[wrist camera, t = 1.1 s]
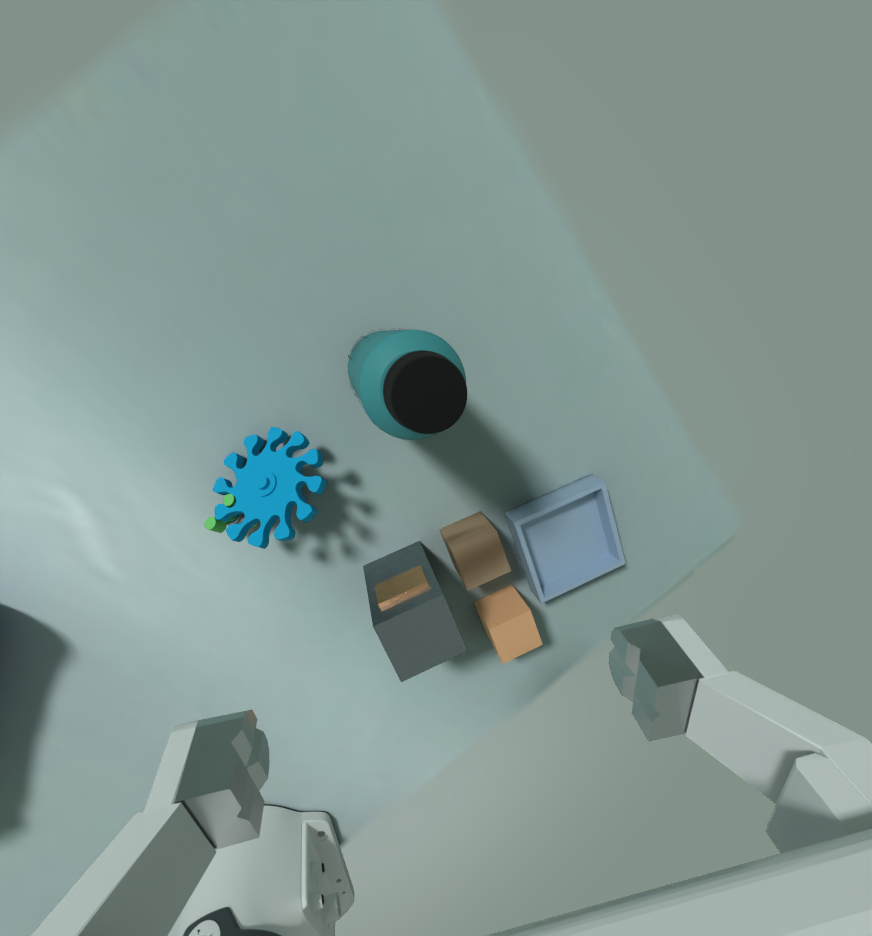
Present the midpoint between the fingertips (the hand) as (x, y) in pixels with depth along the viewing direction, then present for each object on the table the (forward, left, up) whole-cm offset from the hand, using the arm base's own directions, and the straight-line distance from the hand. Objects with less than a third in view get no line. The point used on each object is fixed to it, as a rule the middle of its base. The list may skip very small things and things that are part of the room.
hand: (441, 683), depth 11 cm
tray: (-20, -15, -34) cm, 42 cm away
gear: (-2, +9, -34) cm, 35 cm away
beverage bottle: (+3, -4, -34) cm, 34 cm away
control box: (-17, +2, -34) cm, 38 cm away
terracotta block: (-25, -6, -34) cm, 43 cm away
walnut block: (-16, -6, -34) cm, 38 cm away
